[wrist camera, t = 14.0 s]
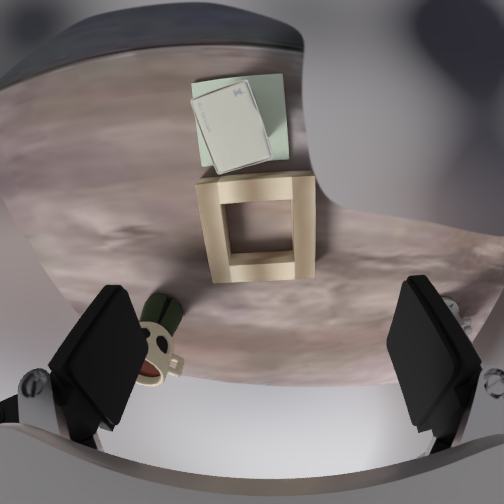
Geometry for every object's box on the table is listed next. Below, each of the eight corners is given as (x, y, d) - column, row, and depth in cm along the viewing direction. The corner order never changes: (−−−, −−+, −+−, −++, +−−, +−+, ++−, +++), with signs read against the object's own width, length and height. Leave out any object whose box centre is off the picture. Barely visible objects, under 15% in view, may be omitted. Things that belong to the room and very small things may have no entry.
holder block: (310, 170, 31) (315, 175, 29) (311, 265, 38) (314, 277, 35) (200, 178, 32) (194, 184, 30) (216, 270, 39) (212, 283, 36)
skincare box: (215, 101, 27) (185, 96, 17) (253, 88, 27) (247, 75, 16) (232, 151, 30) (214, 177, 20) (271, 140, 29) (274, 159, 19)
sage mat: (282, 74, 26) (282, 73, 26) (288, 158, 31) (289, 159, 30) (192, 84, 27) (191, 83, 26) (203, 165, 32) (201, 166, 31)
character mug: (204, 308, 42) (186, 376, 31) (187, 334, 45) (169, 398, 34) (140, 276, 40) (104, 337, 28) (129, 306, 43) (98, 364, 32)
